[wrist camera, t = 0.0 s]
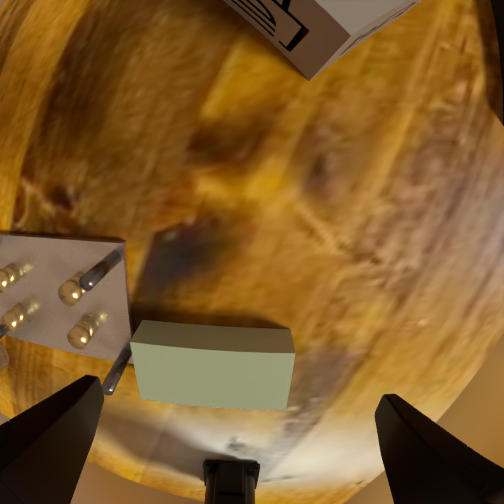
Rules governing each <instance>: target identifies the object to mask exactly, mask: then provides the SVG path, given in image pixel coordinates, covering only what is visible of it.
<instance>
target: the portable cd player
mask: <svg viewBox="0 0 504 504" xmlns="http://www.w3.org/2000/svg"><path fill="white" fill-rule="evenodd" d="M491 3H492V8H493V13H494V18H495V23H496V29H497V36H498V43H499V51H500V59H501V70H502V85H503V126H504V0H491Z"/></svg>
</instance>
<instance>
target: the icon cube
mask: <svg viewBox="0 0 504 504" xmlns="http://www.w3.org/2000/svg"><path fill="white" fill-rule="evenodd" d="M223 1H224V2H226V3H227V4H228V5H229V6H231V7H232V8H233V9H234V10H235V11H237V12H238V13H239V14H240V15H241V16H242V17H244V18H245V19H246V20H247V21H248V22H249V23H250V24H252V25H253V26H254V27H255V28H256V29H257V30H258V31H259V32H260V33H262V34H263V35H264V36H265V37H266V38H267V39H268V40H269V41H270V42H271V43H272V44H273V45H274V46H275V47H276V48H277V49H278V50H280V51H281V52H282V53H283V54H284V55H285V56H286V57H287V58H288V59H289V60H290V61H291V62H292V63H293V64H294V65H295V66H296V68H297V69H298V70H299V71H300V72H301V73H302V74H303V75H304V76H305V77H306V78H307V79H308V80H309V81H310V80H311V79H313V78H314V77H315V76H317V75H318V74H319V73H320V72H322V71H323V70H324V69H326V68H327V67H328V66H330V65H331V64H332V63H334V62H335V61H336V60H338V59H339V58H341V57H342V56H343V55H345V54H346V53H347V52H349V51H350V50H352V49H353V48H354V47H356V46H357V45H359V44H360V43H362V42H363V41H364V40H366V39H367V38H369V37H370V36H372V35H373V34H375V33H376V32H378V31H379V30H381V29H382V28H384V27H385V26H387V25H388V24H390V23H391V22H393V21H394V20H396V19H398V18H399V17H400V16H402V15H403V14H404V13H406V12H407V11H408V10H410V9H411V8H412V7H414V6H415V5H416V4H418V3H419V2H420V1H422V0H223Z"/></svg>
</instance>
